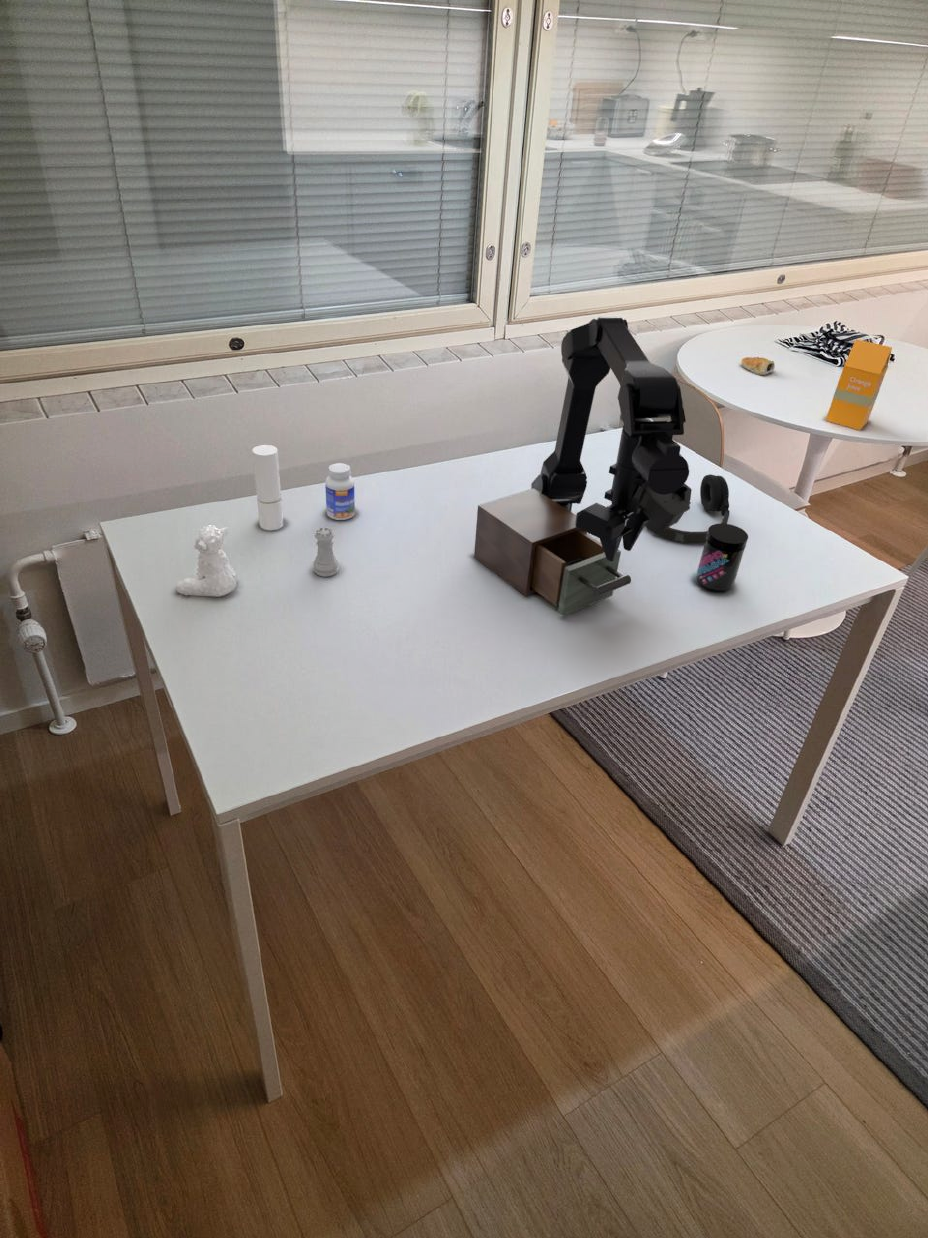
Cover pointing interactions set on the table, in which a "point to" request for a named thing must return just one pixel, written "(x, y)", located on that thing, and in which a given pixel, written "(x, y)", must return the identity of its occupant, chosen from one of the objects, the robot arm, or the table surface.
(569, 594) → the drawer
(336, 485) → the pill bottle
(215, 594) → the white creature statuette
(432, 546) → the table surface
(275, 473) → the tube
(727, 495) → the headphones
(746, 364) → the pastry
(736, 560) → the supplement container
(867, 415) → the orange juice
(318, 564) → the rook chess piece
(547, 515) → the cabinet
